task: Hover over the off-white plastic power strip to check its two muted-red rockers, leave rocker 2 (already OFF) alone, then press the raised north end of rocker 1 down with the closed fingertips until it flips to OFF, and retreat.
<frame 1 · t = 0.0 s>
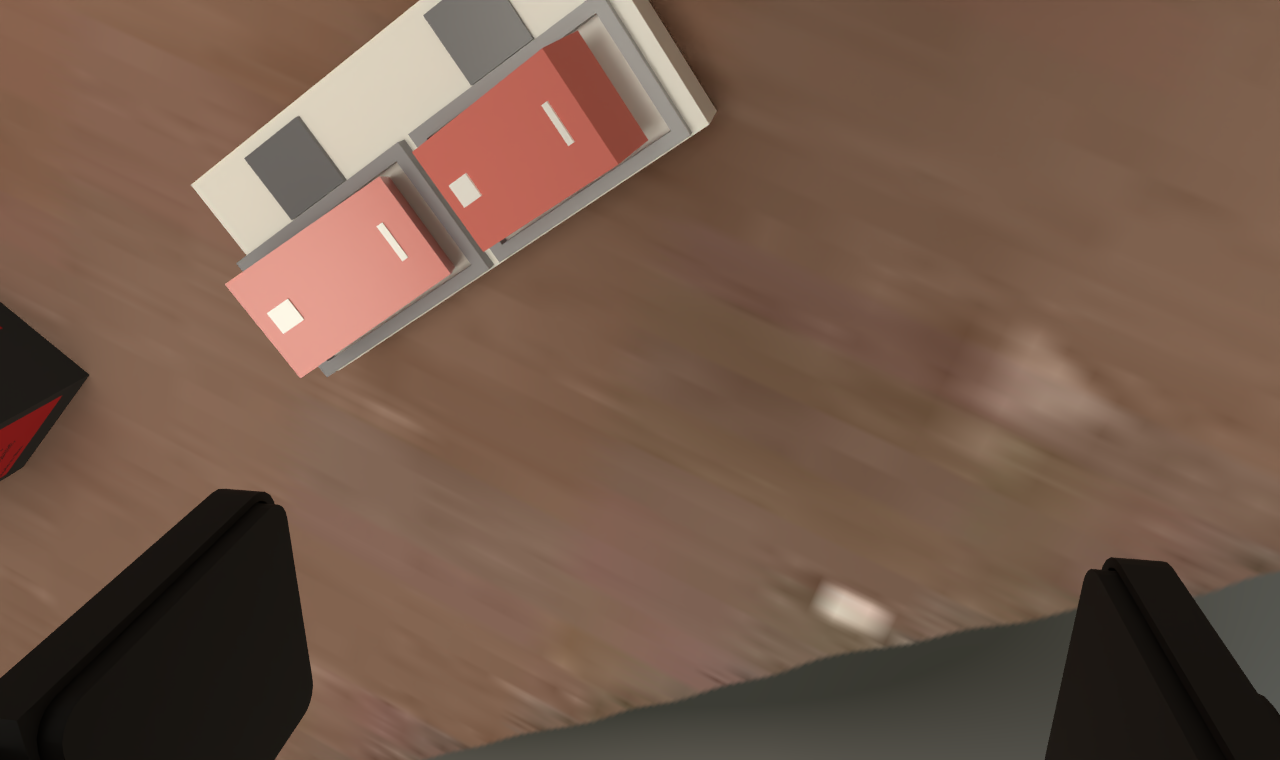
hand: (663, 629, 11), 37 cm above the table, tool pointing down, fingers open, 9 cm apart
rocker 2: (345, 275, 42), point 8 cm above the table, hinge at -18.0°
rocker 1: (527, 146, 39), point 8 cm above the table, hinge at 18.0°
power strip: (470, 140, 47), on the table
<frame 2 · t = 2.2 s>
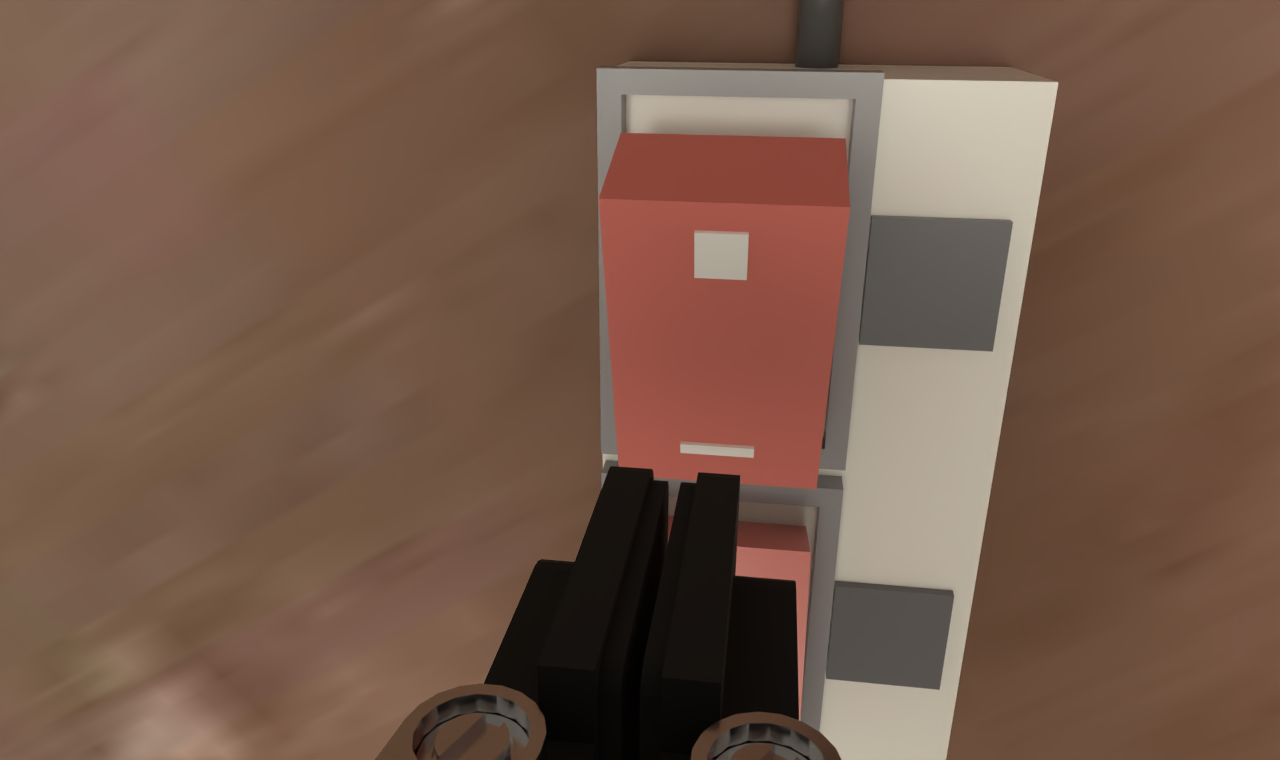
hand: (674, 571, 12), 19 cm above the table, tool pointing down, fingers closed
rocker 2: (723, 321, 22), point 8 cm above the table, hinge at -18.0°
rocker 1: (709, 672, 26), point 8 cm above the table, hinge at 18.0°
power strip: (790, 408, 32), on the table
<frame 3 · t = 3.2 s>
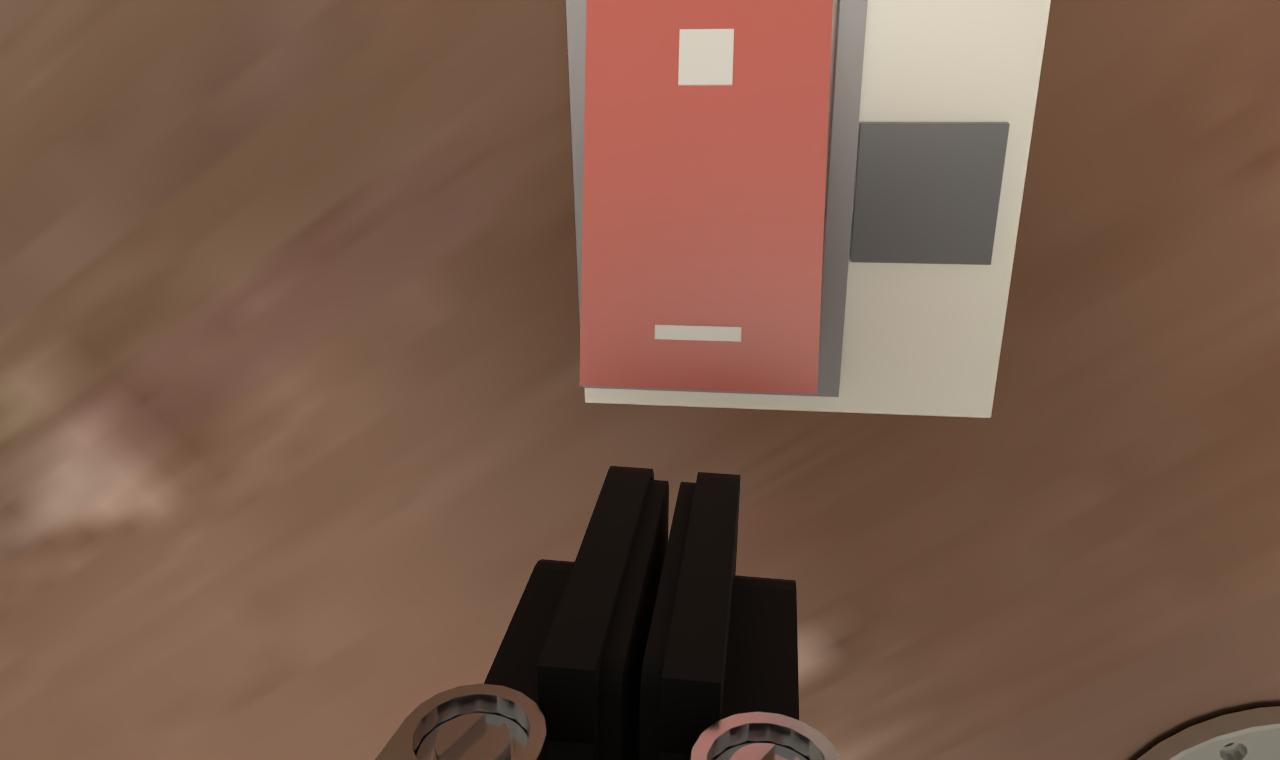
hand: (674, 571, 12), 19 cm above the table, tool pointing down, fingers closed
rocker 1: (705, 204, 21), point 8 cm above the table, hinge at 18.0°
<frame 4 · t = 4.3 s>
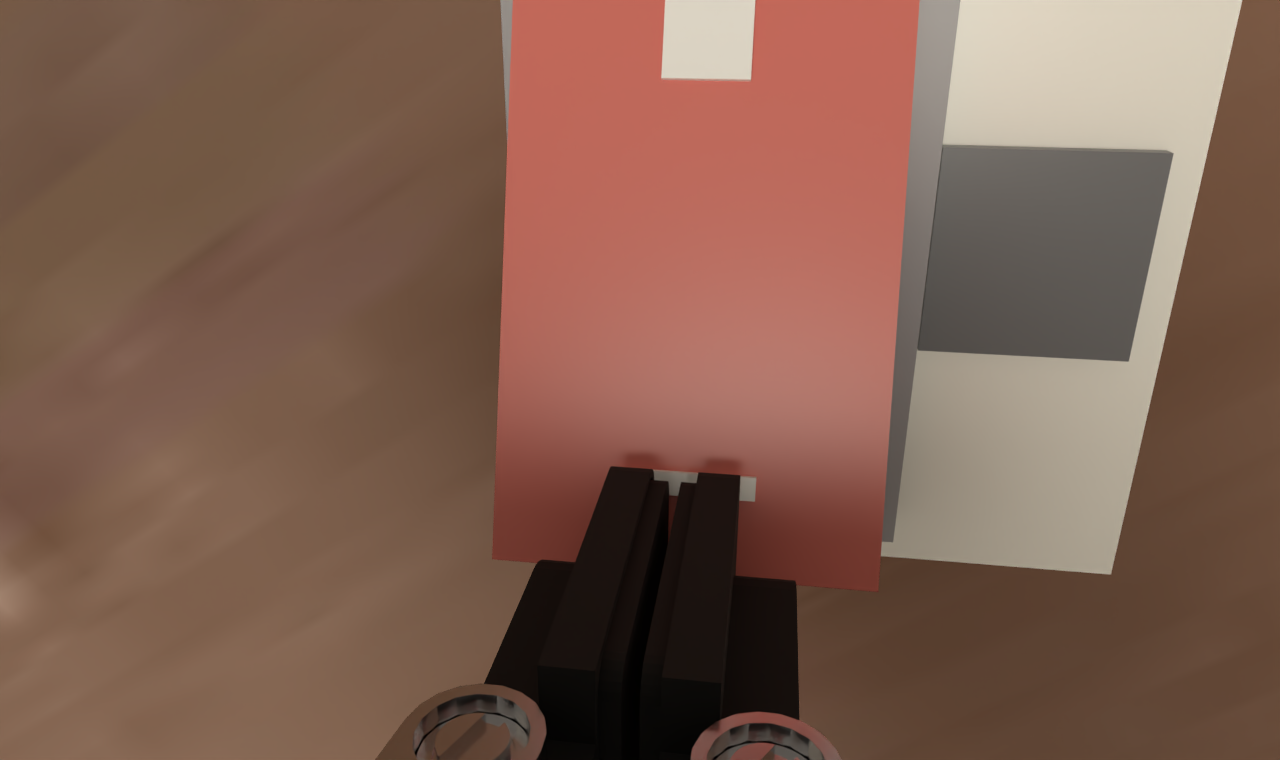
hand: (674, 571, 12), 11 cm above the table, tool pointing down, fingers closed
rocker 1: (704, 268, 13), point 8 cm above the table, hinge at 17.8°, touching gripper
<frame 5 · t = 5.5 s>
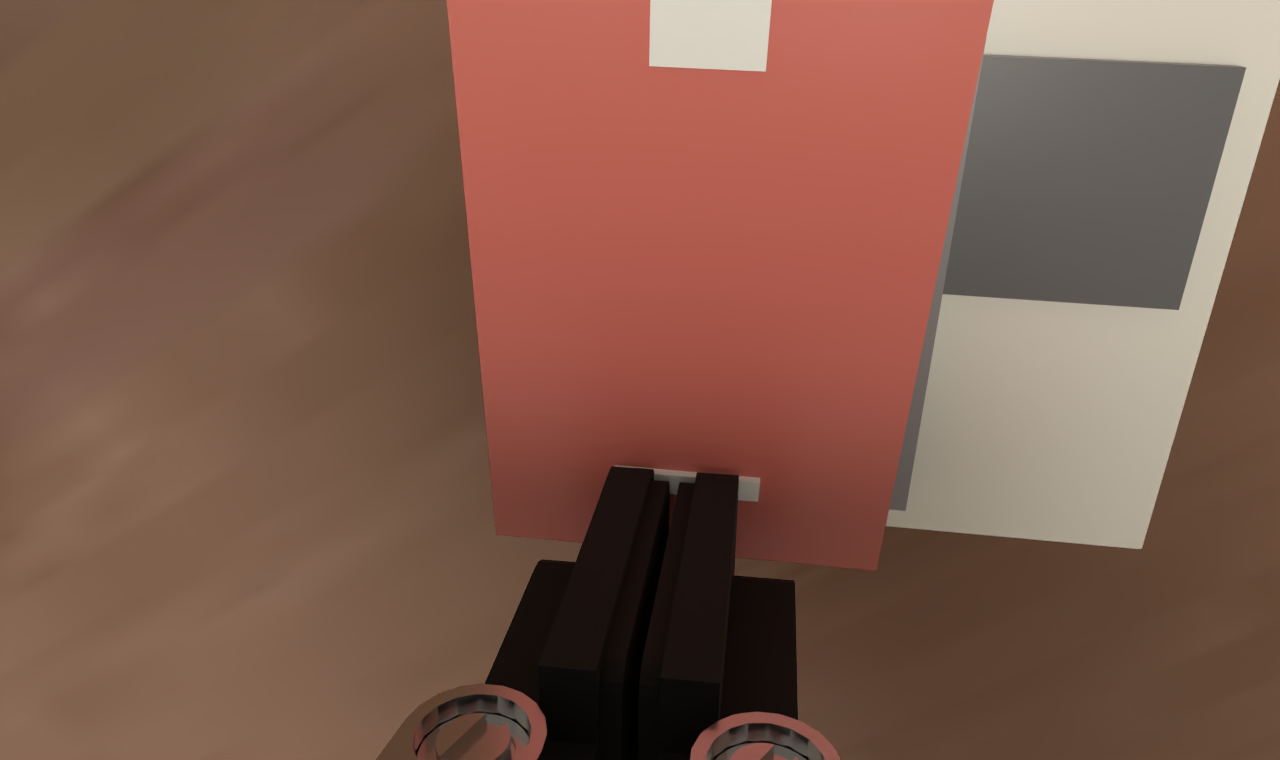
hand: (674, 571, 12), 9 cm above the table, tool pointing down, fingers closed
rocker 1: (705, 224, 11), point 8 cm above the table, hinge at -9.3°, touching gripper
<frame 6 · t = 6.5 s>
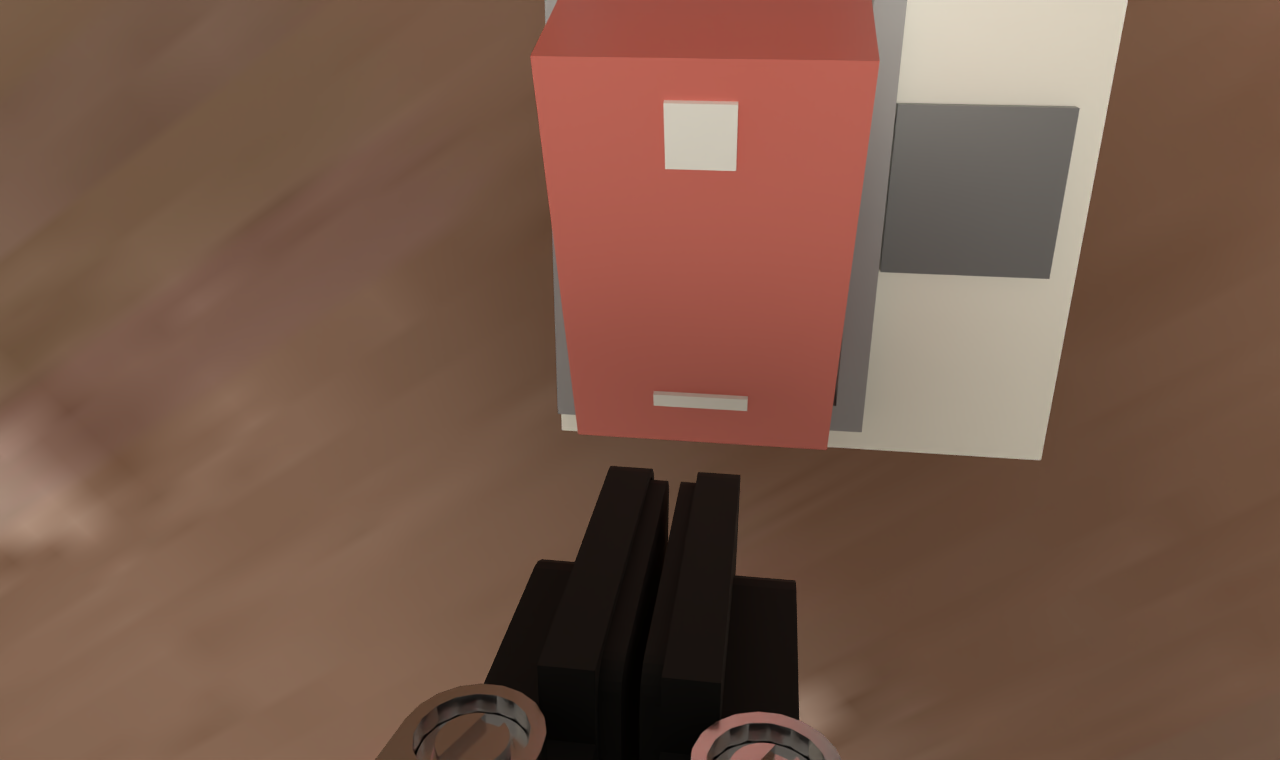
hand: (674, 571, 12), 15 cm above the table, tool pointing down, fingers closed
rocker 1: (707, 234, 17), point 8 cm above the table, hinge at -20.5°
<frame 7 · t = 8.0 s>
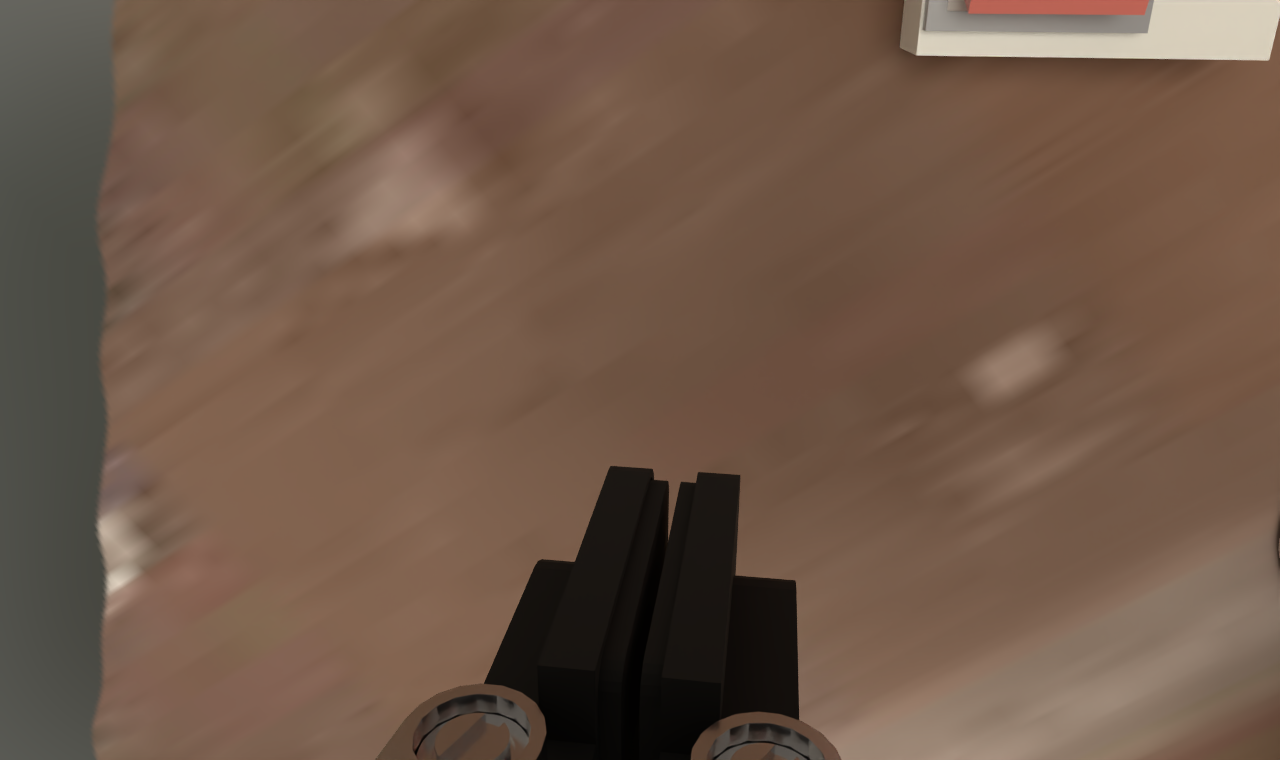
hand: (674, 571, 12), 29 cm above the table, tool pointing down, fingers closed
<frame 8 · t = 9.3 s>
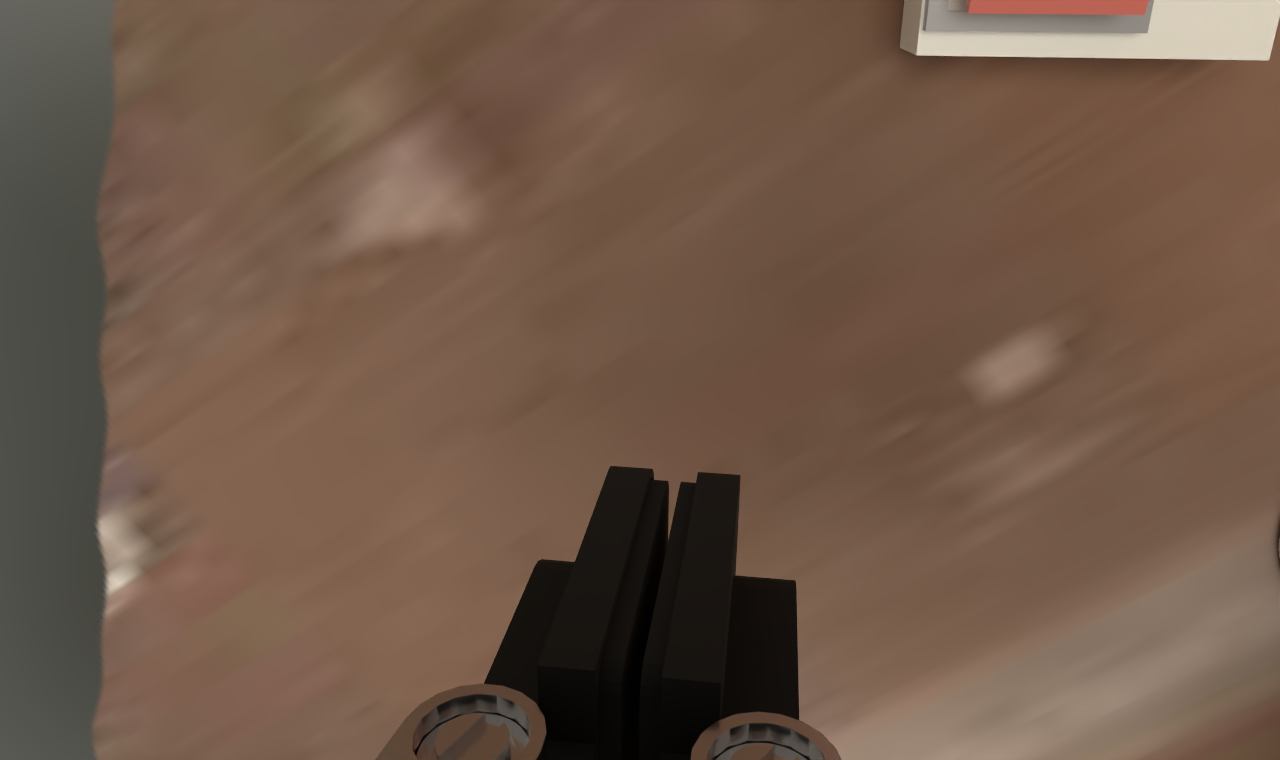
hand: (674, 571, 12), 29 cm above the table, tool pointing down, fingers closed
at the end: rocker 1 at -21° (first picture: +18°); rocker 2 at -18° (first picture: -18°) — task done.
